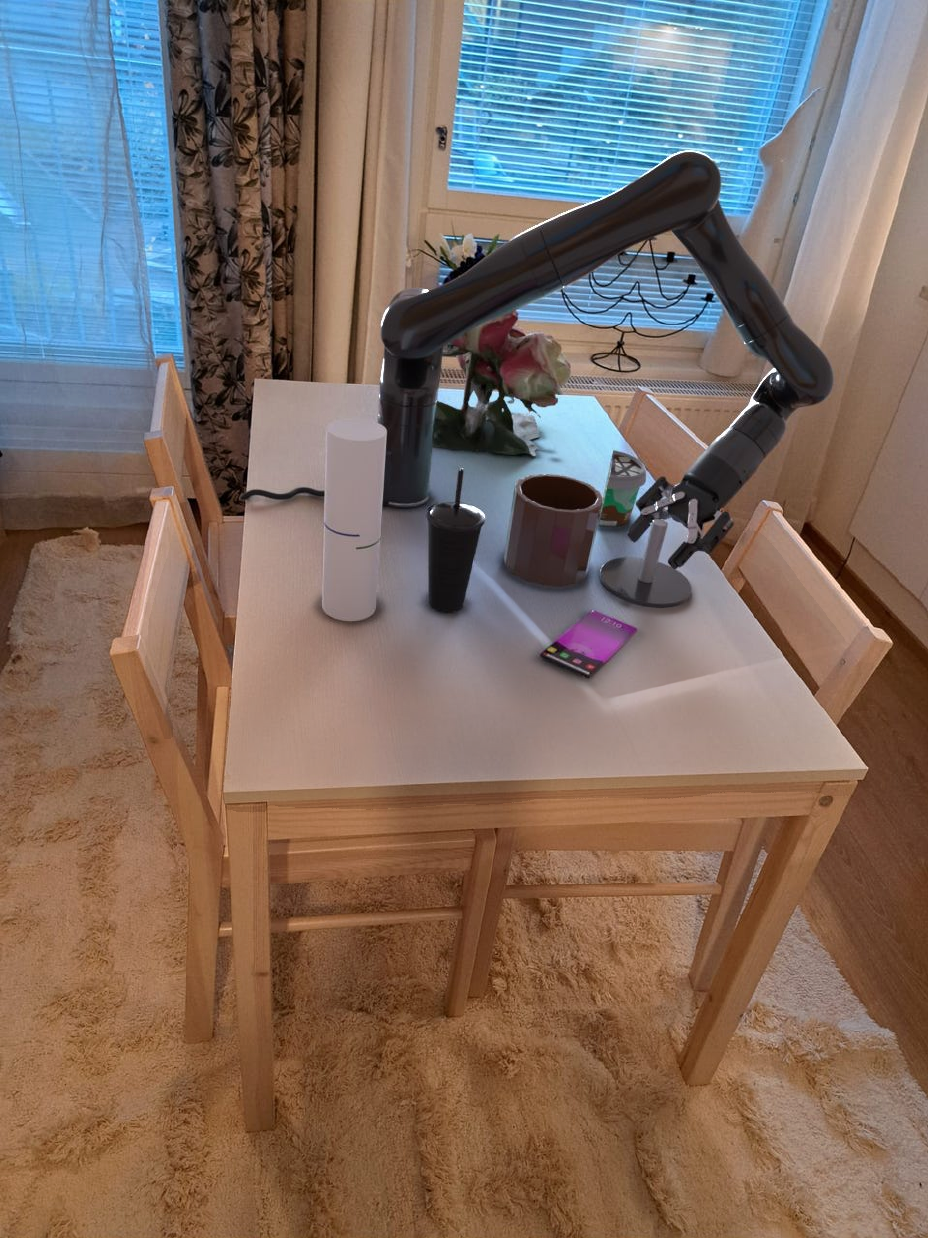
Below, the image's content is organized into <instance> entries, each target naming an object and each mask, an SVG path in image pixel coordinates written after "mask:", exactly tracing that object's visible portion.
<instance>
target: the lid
mask: <svg viewBox="0 0 928 1238" xmlns="http://www.w3.org/2000/svg"><path fill="white" fill-rule="evenodd" d="M668 526H669V523H668V522H667V521H666V520H663V519H661V520H660V519H655V520H653V522H652V523H651V526H650V530H649V534H648V537H647V541H646V545H645V550H644V554H643V557H638V556H636V557H635V556H624V557H617V558H613V559H610V560H608V561H606V562H605V563H604V564H603V565H602V566H601V568H600V571H599V580H600V582H601V584H602V585H603V586H604V588H605V589H606V590H607V591H609V592H610V593H611V594H613V595H614V596H616V597H617V598H619V599H622V600H624V601H627V602H630V603H632V604H636V605H638V606H644V607H650V608H671V607H676V606H679V605H681V604H683V603H685V602H686V601H687V600H688V599H689V598H690V596H691V593H692V585H691V583H690V580H688V578H687V577H686V576H685V575H684V574H683V573H682V572H680V571H679V570H677V569H674V568H672V567H671V566H670V565H669V564H665V563H663V562H660V561H659V560H660V558H661V557H660V556H661V553H662V549H663V545H664V541H665V537H666V534H667V530H668Z"/></svg>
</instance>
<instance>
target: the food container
mask: <svg viewBox="0 0 928 1238" xmlns="http://www.w3.org/2000/svg"><path fill="white" fill-rule="evenodd" d="M607 473H608V474H607V477H606V482H605V487H604V492H603V495H602V498H603V503H602V508H601V513H600V517H599V522H598V526H599V527H604V528H608V527H609V528H616V527H622V526H624V525H626V524H628V523H629V521H630V520H631V516H632V514H633V513H632V512H633V510H634V507H635V505H636V502H637V497H638V494H639V491H640V488H641V487H642V486H644V485H645V484H646V483H647V482H646V481H647V469H646V466H645V463H644V462H643V461H642V460H640V459H639V458H637V457H635V456H634V455H632V454H630V453H627V452H624V451H619V450H616V449H615V450H614V449H613V450H612V453H611V458H610V463H609V468H608V472H607Z"/></svg>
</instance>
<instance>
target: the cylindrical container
mask: <svg viewBox="0 0 928 1238" xmlns="http://www.w3.org/2000/svg"><path fill="white" fill-rule="evenodd" d="M386 437H387V430H386V428H385V427H384V426H382V425H381V424H379V423H378V422H376V421H374V420H370V419H365V418H356V417H355V418H354V417H350V418H349V417H346V418H339V419H335V420H332V421H330V422H329V423H327V424H326V427H325V462H324V463H325V466H324V468H325V470H324V475H325V476H324V490H325V497H324V507H323V508H324V509H323V511H324V512H323V513H324V514H323V547H322V548H323V552H322V558H323V559H322V591H321V592H322V593H321V608H322V611H323V612H324V613H325V615H327V616H329V617H331V618H332V619H335V620H338V621H342V622H359V621H363V620H365V619H369V617H371V616H373V614H374V613H375V611H376V608H377V597H378V596H377V594H378V577H379V565H380V564H379V563H380V545H381V531H382V515H383V506H382V501H383V485H384V469H385V453H386Z"/></svg>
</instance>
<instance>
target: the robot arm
mask: <svg viewBox="0 0 928 1238" xmlns="http://www.w3.org/2000/svg"><path fill="white" fill-rule="evenodd" d="M721 176H722V175H721V171H720V168H719V166H718V165H717V163H716V162H715V161H714V160H713V159H712V158H711V157H710V156H709V155H708V154H705V153H702V152H700V151H696V150H684V151H679V152H677V153H674V154H672V155H670V156H669V157H667V158H666V159H664V160H663V161H661V163H659V164H658V165H656V166H655V167H653V168H651V169H650V170H648V171H647V172H645V173H644V174H642V175H641V176H639V177H637V178H636V179H635V180H633V181H631V182H629V183H628V184H626V185H625V186H623V187H621V188H620V189H618V190H615V192H612V193H611V194H608V195H606V196H604V197H602V198H600V199H597V200H595V201H592V202H589V203H586V204H584V205H581V206H578V207H575V208H573V209H570V210H568V211H566V212H563V213H561V214H558V215H557V216H555V217H552V218H550V219H548V220H545V221H544V222H541V223H539V224H538V225H535V226H533V227H531V228H529V229H527V230H525V231H524V232H521V233H520V234H518V235H516V236H514V237H513V238H511V239H509V240H508V241H506V242H505V243H503V244H501V245H500V246H499V247H497V248H496V249H494V250H493V251H492V252H489V254H488V255H486V256H485V257H483V258H482V259H481V260H480V261H478V262H477V263H476V264H474V265H473V266H472V267H471V268H469V269H468V270H467V271H466V272H463V273H462V274H461V275H459V276H457V277H456V278H454V279H452V280H450V281H448V282H446V283H443V284H441V285H439V286H437V287H435V288H434V287H433V288H432V289H429V290H428V289H426V288H423V287H415V286H414V287H408V288H405V289H403V290H400V291H399V292H398V293H396V294H395V295H394V296H393V297H392V298H391V300H390V301H389V303H388V304H387V306H386V308H385V311H384V313H383V315H382V318H381V321H380V338H381V341H382V344H383V358H382V364H381V370H380V371H381V372H380V377H379V390H378V392H379V393H378V395H379V396H378V407H377V408H378V409H377V423H379V424H381V425H382V426H384V427H385V428H386V430H387V437H386V453H385V469H384V485H383V501H382V507H387V506H389V507H394V508H403V509H405V508H407V509H409V508H415V507H419V506H422V505H424V504H426V503H427V502H428V501H429V496H430V493H429V491H430V481H431V469H432V460H433V459H432V457H433V448H434V446H433V439H434V428H435V418H436V408H437V400H438V396H439V395H438V394H439V388H440V381H441V373H442V364H443V356H442V355H443V350H444V347H445V346H447V345H448V343H450V342H452V341H453V340H455V339H456V338H458V337H460V336H461V335H463V334H465V333H466V332H468V331H470V330H471V329H473V328H475V327H477V326H479V325H481V324H483V323H485V322H488V321H490V320H492V319H495V318H498V317H500V316H503V315H505V314H508V313H510V312H512V311H515V310H516V311H517V310H519V309H522V308H524V307H526V306H528V305H530V304H533V303H535V302H538V301H540V300H542V299H545V298H546V297H549V296H550V295H552V294H554V293H557V292H558V291H561V290H563V289H564V288H567V287H569V286H571V285H572V284H574V283H576V282H579V280H581V279H583V278H584V277H587V276H588V275H590V274H591V273H593V272H594V271H596V270H597V269H598V268H601V267H602V266H603V265H605V264H606V263H608V262H610V261H611V260H612V259H613V258H615V257H617V256H618V255H619V254H621V253H622V252H624V251H626V250H628V249H630V248H632V247H634V246H636V245H638V244H641V243H643V242H646V241H647V240H650V239H652V238H655V237H658V236H661V235H663V234H665V233H668V232H671V233H672V235H674V237H675V238H676V239H677V240H678V241H679V242H680V243H681V245H682V246H683V247H684V248H685V250H686V251H687V252H688V253H689V255H690V256H691V257H692V259H693V260H694V261H695V263H696V265H697V266H698V267H699V269H700V270H701V272H702V273H703V275H704V277H705V279H706V280H707V282H708V283H709V286H710V287H711V289H712V290H713V292H714V294H715V296H716V298H717V299H718V301H719V303H720V305H721V306H722V308H723V310H724V312H725V314H726V316H727V317H728V319H729V321H730V322H731V324H732V326H733V328H734V329H735V330H736V332H737V334H738V335H739V337H740V339H741V341H742V342H743V343H744V345H745V346H746V348H747V350H748V351H749V353H750V354H751V355H752V356H754V357H756V358H760V359H762V360H763V359H764V360H766V361H767V362H768V363H769V364H770V365H771V366H772V367H773V368H772V369H771V370H770V371H769V372H768V373H767V374H766V375H765V377H764V378H763V379H762V381H761V382H760V383H759V385H758V386H757V387H756V389H755V391H754V392H753V394H752V395H751V398H750V399H749V401H748V403H747V405H746V406H745V408H744V409H743V410H742V411H741V412H740V413H739V414H738V415H737V416H736V417H735V418H734V420H733V421H732V422H731V423H730V424H729V425H728V427H727V428H726V429H725V430H724V431H723V432H722V433H721V434H719V435H718V436H717V437H716V438H715V439H714V440H713V441H712V442H711V444H710V445H708V447H707V448H706V449H705V450H704V451H703V453H701V455H700V456H699V457H698V458H697V459H696V461H694V463H693V464H692V465H691V466H690V467H689V468H688V469H687V471H686V472H685V473H684V475H683V477H682V479H681V481H680V482H679V483H677V484H675V485H673V484H672V483H670V482H669V480H668V479H667V478H666V476H660V477H658V478H657V480H656V481H655V482H654V483H653V484H652V485H651V486H650V487H649V488H648V489H647V490H646V491H645V492H644V493H643V494H642V495H641V497H639V498H638V499H637V500H636V501H635V506H636V507H637V509H638V511H639V512H640V513H639V516H637V517H636V519H635V520H634V521H633V522H632V524H631V525H630V526H629V527H628V529H627V532H626V537H627V538H628V539H629V541H631V542H632V543H634V544H635V543H637V542H638V541H639V540H640V538H641V537H642V536H643V535H644V534H645V532H646V531H647V530H648V529H649V528H651V526H652V522H653V520H655V519H660V520H664V521H666V520H670V519H672V520H673V521H674V522H676V523H680V524H681V525H682V526H683V527H685V528H686V529H687V530H688V531H687V532H688V533H687V541H683V542H682V543H681V544H680V545H679V546H678V548H677V549H676V550H674V552H673V553H672V554H671V556H670V557H669V558H668V559H667V563H668V566H670V567H672V568H674V569H676V570H677V569H678V568H682V567H683V566H685V564H686V563H687V562H688V560H690V559H691V557H692V556H693V555H694V554H695V553H697V552H703V553H705V554H707V555H710V554H712V553H713V552H714V550H715V549H716V548H717V547H718V546H719V545H720V543H721V542H722V541H723V539H724V538H725V537H726V535H728V533H729V532H730V530H731V529H732V528H733V527H734V525H735V523H734V522H735V521H734V520H733V518H732V516H731V515H730V513H729V511H721V509H724V508H725V507H726V506H727V505H728V504H729V503H730V501H731V500H732V499H733V498H734V497H735V496H736V495H737V494H738V493H739V491H740V490H741V489H742V488H744V486H745V485H746V484H747V482H749V480H750V479H751V478H752V477H753V476H754V474H755V473H756V472H757V471H758V469H759V467H760V466H761V465H762V463H763V462H764V460H765V459H766V458H767V457H768V456H769V455H770V453H771V452H772V451H773V450H774V449H775V448H776V447H777V446H778V444H780V442H781V441H782V440H783V438H784V437H785V435H786V433H787V423H786V422H788V420H789V419H790V417H791V416H792V415H793V414H794V413H795V412H796V411H797V410H798V409H799V408H805V407H811V406H815V405H818V404H820V403H823V402H824V401H826V400H827V399H828V397H829V396H831V394H832V392H833V390H834V386H835V373H834V369H833V366H832V364H831V362H830V360H829V359H828V357H827V356H826V354H825V353H824V352H823V350H822V349H821V348H820V347H819V346H818V345H817V344H816V343H815V342H814V340H813V339H812V338H811V337H810V336H809V335H808V334H807V333H806V332H805V331H804V330H802V328H800V327H799V326H798V325H797V323H796V322H795V321H794V320H793V317H792V315H791V314H790V312H789V310H788V309H787V307H786V305H785V304H784V302H783V300H782V299H781V297H780V295H779V294H778V292H777V290H776V289H775V287H774V285H773V284H772V283H771V282H770V280H769V278H768V277H767V276H766V275H765V273H764V271H762V269H761V268H760V267H759V266H758V264H757V263H756V262H755V261H754V259H753V257H752V256H751V255H750V254H749V253H748V251H747V250H746V249H745V248H744V246H743V245H742V243H741V242H740V239H738V237H737V235H736V233H735V231H734V230H733V229H732V226H731V225H730V223H729V221H728V219H727V217H726V213H725V211H724V210H723V207H722V204H721V202H720V199H719V198H720V194H721V191H722V177H721ZM299 494H308V495H312V496H315V497H318V498H319V497H320V498H323V497H324V498H325V489H324V490H319V489H315V488H313V487H309V486H299V487H295V488H293V489H291V490H289V491H288V492H283V493H277V492H272V491H269V490H265V489H261V488H254V489H249V490H248V491H245V492H244V493H243V494H242V495H241V496H240V497H239V500H241V501H245V500H248V499H249V498H251V497H254V496H261V497H265V498H267V499H272V500H277V501H286V500H289V499H291V498H293V497H295V496H296V495H299ZM664 497H665V498H664ZM666 508H667V509H666ZM712 521H713V523H712V525H711V526H710V528H709V529H708V530H707V531H706V533H705V524H706V523H710V522H712Z"/></svg>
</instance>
